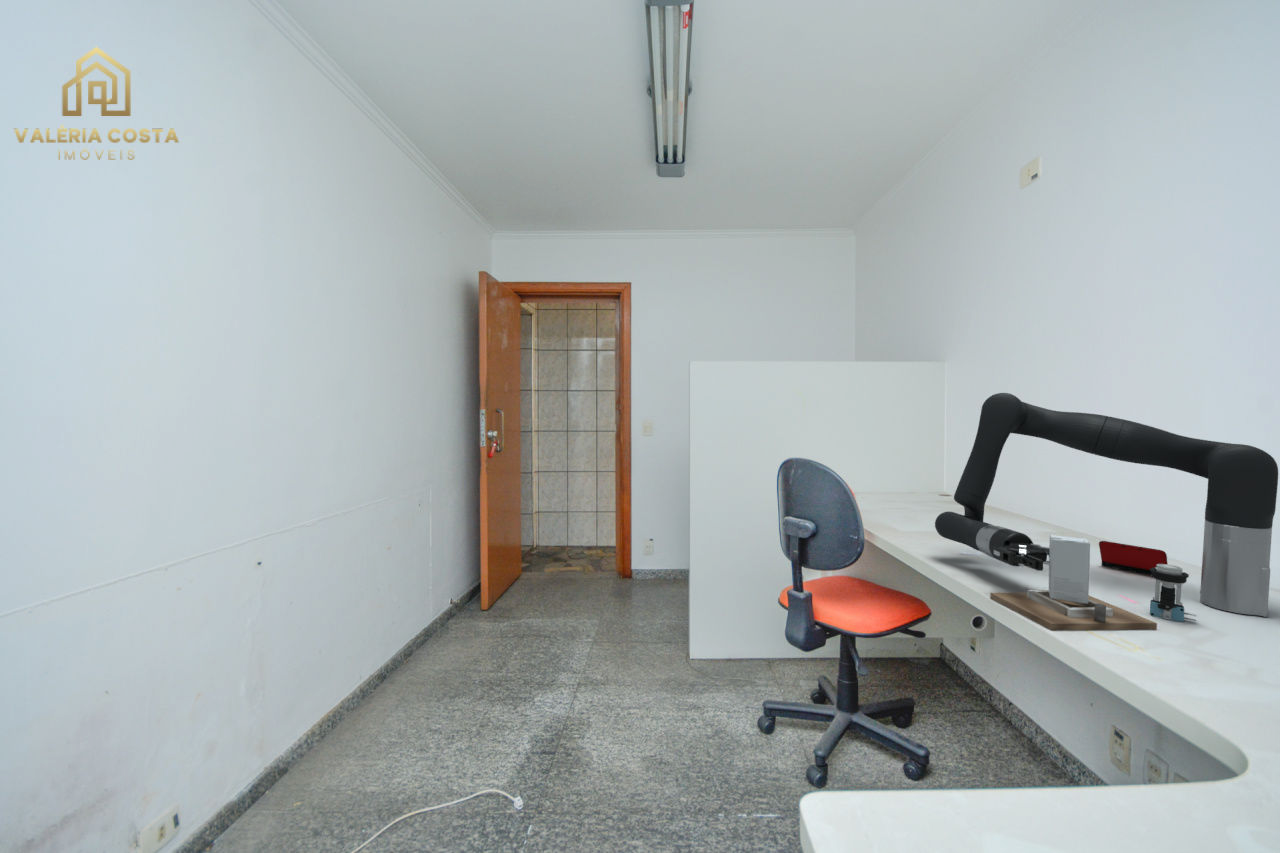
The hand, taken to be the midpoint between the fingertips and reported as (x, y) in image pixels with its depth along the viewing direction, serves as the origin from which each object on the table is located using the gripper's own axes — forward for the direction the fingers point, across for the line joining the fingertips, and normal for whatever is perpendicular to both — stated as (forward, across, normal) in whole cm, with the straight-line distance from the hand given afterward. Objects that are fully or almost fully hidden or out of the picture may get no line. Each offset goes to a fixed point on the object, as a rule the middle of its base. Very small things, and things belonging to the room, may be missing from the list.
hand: (1062, 565), depth 108 cm
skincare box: (+2, 0, +6) cm, 7 cm away
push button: (+5, +18, +9) cm, 21 cm away
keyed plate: (+2, 0, +9) cm, 9 cm away
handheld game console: (-25, +41, +9) cm, 49 cm away
